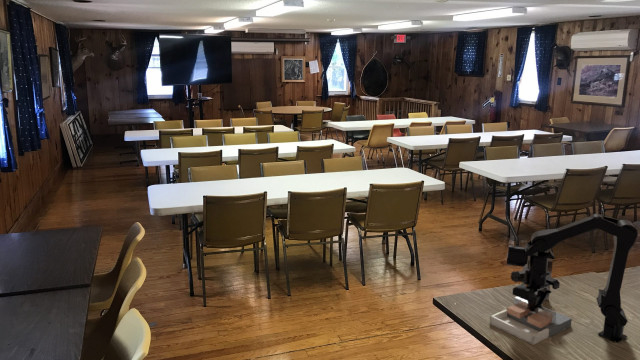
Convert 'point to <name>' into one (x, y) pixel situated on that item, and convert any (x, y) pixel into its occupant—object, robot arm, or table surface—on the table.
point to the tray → (518, 328)
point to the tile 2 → (538, 320)
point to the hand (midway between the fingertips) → (534, 310)
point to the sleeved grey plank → (536, 309)
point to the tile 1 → (517, 311)
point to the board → (558, 326)
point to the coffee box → (549, 269)
